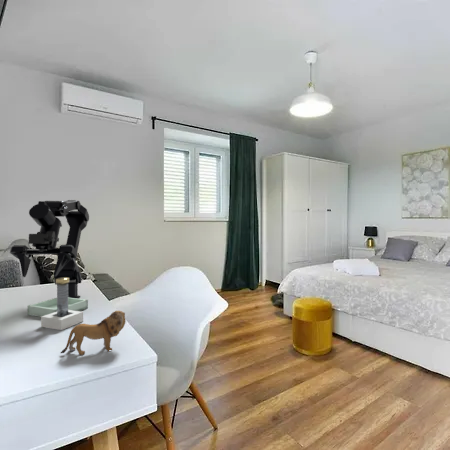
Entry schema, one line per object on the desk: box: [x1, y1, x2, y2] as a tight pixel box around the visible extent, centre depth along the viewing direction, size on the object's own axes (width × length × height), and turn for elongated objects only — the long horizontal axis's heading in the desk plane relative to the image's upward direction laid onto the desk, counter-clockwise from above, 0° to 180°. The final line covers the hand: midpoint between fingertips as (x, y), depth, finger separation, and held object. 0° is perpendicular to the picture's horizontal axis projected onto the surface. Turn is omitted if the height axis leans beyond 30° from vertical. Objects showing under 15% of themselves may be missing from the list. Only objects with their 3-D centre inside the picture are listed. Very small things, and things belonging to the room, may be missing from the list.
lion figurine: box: [60, 310, 127, 356], centre depth 72 cm, size 15×5×9 cm, turn 116°
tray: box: [27, 297, 89, 318], centre depth 103 cm, size 13×13×3 cm
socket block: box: [40, 310, 84, 331], centre depth 90 cm, size 8×8×3 cm
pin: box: [56, 277, 69, 317], centre depth 90 cm, size 4×4×14 cm
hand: (39, 276), depth 95 cm, fingers open, 9 cm apart
